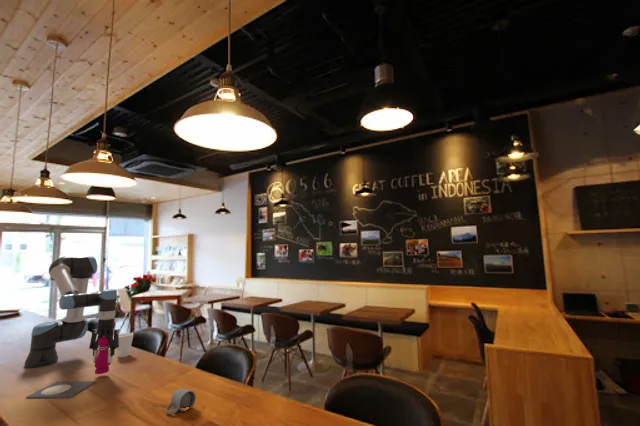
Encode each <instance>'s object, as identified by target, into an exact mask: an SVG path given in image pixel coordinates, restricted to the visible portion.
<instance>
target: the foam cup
mask: <svg viewBox="0 0 640 426" xmlns="http://www.w3.org/2000/svg"><path fill="white" fill-rule="evenodd" d="M118 335H119V347H118V348H116V349H117V350H116V351H117V357H118V358H126V357H128V356H130V353H131V348H132V343H133V338H134V333H133V332H125V333H118Z"/></svg>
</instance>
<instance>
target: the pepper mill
mask: <svg viewBox="0 0 640 426" xmlns="http://www.w3.org/2000/svg"><path fill="white" fill-rule="evenodd" d="M98 345H99V346H98V349H99V355H98V358H97V359H96V361H95V363H94V368H95V370H94V375H103V374H107V373H108V372H109V371H110V366H111V364H112V362H110V363H108V353H109V350H110V346H109V343H108V339H107V338H106V336H103V337H101V338H100V339H99V341H98Z"/></svg>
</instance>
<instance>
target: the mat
mask: <svg viewBox="0 0 640 426" xmlns="http://www.w3.org/2000/svg"><path fill="white" fill-rule="evenodd" d="M96 383H97V381H96V380H95V381H91V380H85V381H84V380H81V381H78V380H76V381H70V380H68V381H67V380H66V381H65V380H64V381H55V382H53V383H51V384H49V385H47V386H45V387H43V388H40V389H39V390H37V391H35V392H33V393H32V394H31V393H30V394H29V395H27V396H25V399H71V398H72V397H75V396H76V395H77V394H79V393H81V392H83V391H84V390H86V389H87V388H90V386H92V385H94V384H96ZM70 397H71V398H70Z"/></svg>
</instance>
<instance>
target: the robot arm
mask: <svg viewBox="0 0 640 426" xmlns="http://www.w3.org/2000/svg"><path fill="white" fill-rule="evenodd" d="M97 271H98V263H97V259H96V257H94V256H92V255H67V256H66V255H65V256H60V257H59V258H57V259H55V260H54V261H53V262H52V263H51V264H50V266H49V268H48V274H49V276H50V278H51V279H53V280H54V282H55V284H56V286H57V289H58V291H59V293H60V295H61V296H60V297H59V299H58V300H59V301H58V305H59V309H60V310H63V311H65V310H66V316H65V317H63V318H62V322H59V321H58V320H51V321H46V322H43V323H39V324H37V325H36V324H35V326H33V328H32V331H31V340H30V348H29V352H28V355H27V357H26V359H25V361H24V365H23V366H24V368H31V369H33V368H40V367H46V366H50V365H52V364H55V363H57V362H58V361H59V355H58V352H57V348H56V347H57V346H56V345H57V344H58V343H62V342H68V341H75V340H77V339H78V340H79V339H81V338H83V337H84V336H86V334H87V331H88V327H89V325H88V324H89V321H88V320H87V319H86V317H85V315H84V311H85V308H90V307H99V308H98V309H99V310H98V319H97V320H98V321H97V328H95V329H91V338H90V341H89V347H88V348H89V349H91V350H92V357H93V360H92V362H93V364H95V361H96V359H97V358H98V355H99V345H98V341H99V339H100V338H101V337H104V336H106V338H107V339H108V343H109V346H110V348H109V350H108V363H110V362H111V363H112V362H113V359H114V355H115V352H116V349H117V348H118V347H119V334H120V328H115V317H116V309H117V305H116V304H117V297H118V290H117V289H115V288H114V289H109V288H108V289H107V288H106V289H102V290H101V291H98V290H97V291H95V292H88V286H89V285H88V284H89V282H90V281H89V280H90V279H92V277H93V275H95V274H96V273H97Z"/></svg>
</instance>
